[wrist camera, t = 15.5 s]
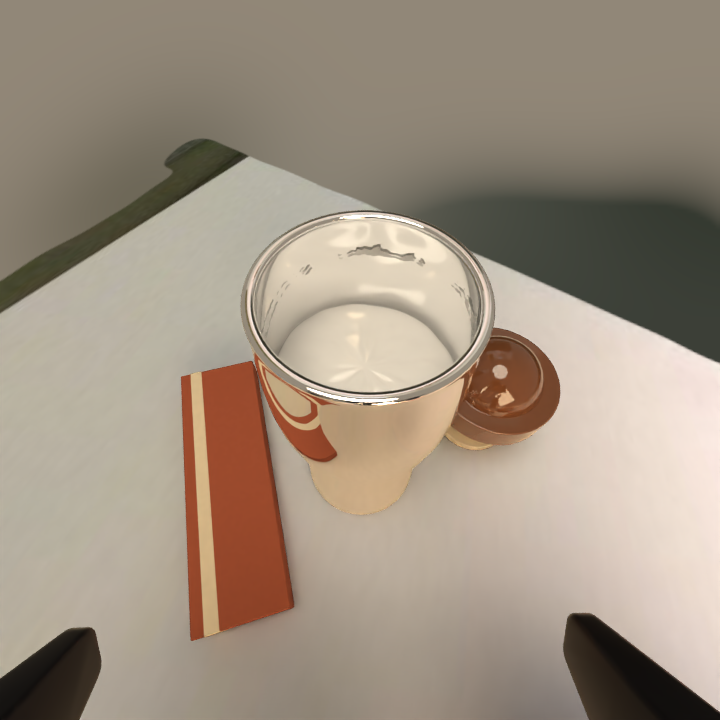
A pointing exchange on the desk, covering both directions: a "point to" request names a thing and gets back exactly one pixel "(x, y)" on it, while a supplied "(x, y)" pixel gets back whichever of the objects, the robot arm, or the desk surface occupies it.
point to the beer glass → (366, 346)
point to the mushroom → (506, 394)
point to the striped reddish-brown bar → (230, 503)
